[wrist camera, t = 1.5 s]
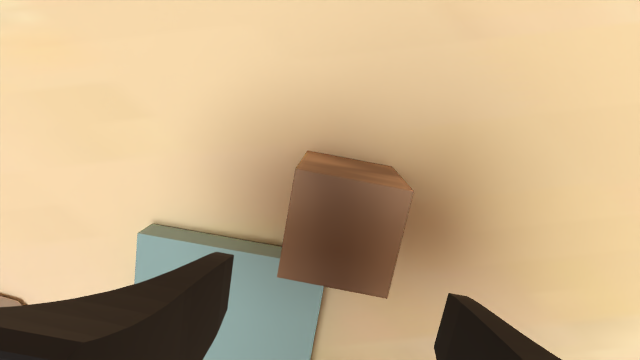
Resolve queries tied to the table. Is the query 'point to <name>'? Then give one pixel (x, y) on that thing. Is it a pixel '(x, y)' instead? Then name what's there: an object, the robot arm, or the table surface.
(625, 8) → the table surface
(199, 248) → the base board
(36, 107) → the table surface
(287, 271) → the walnut block
